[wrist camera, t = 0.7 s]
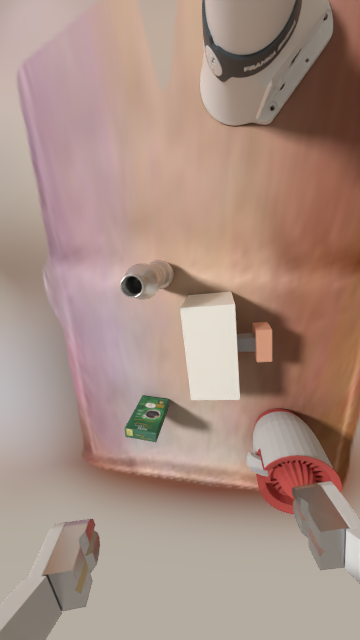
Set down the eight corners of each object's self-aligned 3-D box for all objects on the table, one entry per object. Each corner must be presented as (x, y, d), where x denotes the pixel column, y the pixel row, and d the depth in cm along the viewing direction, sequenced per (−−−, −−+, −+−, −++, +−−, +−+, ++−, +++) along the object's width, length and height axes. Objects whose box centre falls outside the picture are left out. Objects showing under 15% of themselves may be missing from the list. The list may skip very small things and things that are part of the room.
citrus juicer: (244, 396, 60) (257, 463, 42) (314, 404, 58) (361, 479, 39) (238, 443, 65) (246, 521, 46) (302, 452, 63) (339, 539, 44)
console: (230, 291, 53) (235, 304, 41) (235, 368, 58) (239, 399, 46) (188, 295, 55) (180, 308, 42) (196, 369, 60) (191, 400, 48)
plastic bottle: (177, 285, 54) (156, 303, 36) (150, 288, 56) (116, 308, 37) (173, 257, 53) (148, 261, 34) (145, 262, 54) (106, 268, 35)
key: (266, 321, 49) (272, 329, 44) (267, 351, 51) (272, 361, 46) (219, 324, 51) (220, 332, 46) (222, 353, 53) (222, 363, 48)
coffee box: (141, 402, 66) (124, 438, 54) (141, 394, 65) (123, 428, 53) (168, 406, 65) (157, 443, 53) (169, 398, 64) (157, 433, 52)
